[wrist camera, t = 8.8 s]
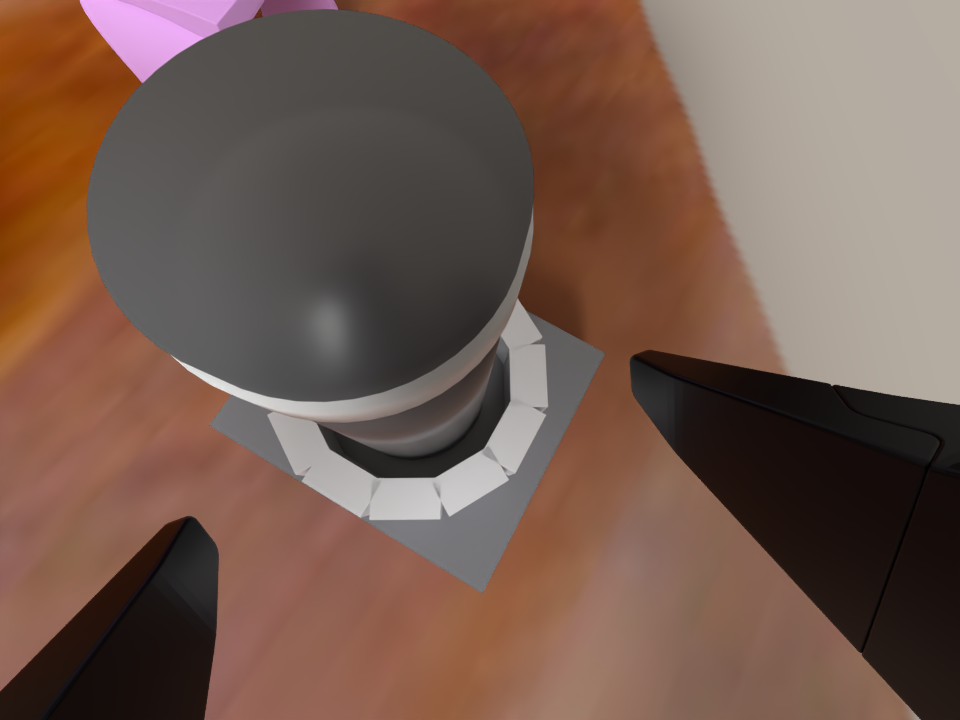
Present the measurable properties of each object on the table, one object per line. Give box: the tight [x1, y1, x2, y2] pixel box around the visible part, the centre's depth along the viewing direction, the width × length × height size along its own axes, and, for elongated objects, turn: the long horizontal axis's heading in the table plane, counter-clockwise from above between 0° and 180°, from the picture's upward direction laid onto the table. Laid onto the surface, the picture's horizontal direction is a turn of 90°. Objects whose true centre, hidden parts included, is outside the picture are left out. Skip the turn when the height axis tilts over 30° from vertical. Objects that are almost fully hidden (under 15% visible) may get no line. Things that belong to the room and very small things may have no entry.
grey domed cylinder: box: [87, 9, 534, 460], centre depth 11 cm, size 5×5×12 cm
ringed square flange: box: [209, 298, 605, 593], centre depth 17 cm, size 11×10×5 cm
